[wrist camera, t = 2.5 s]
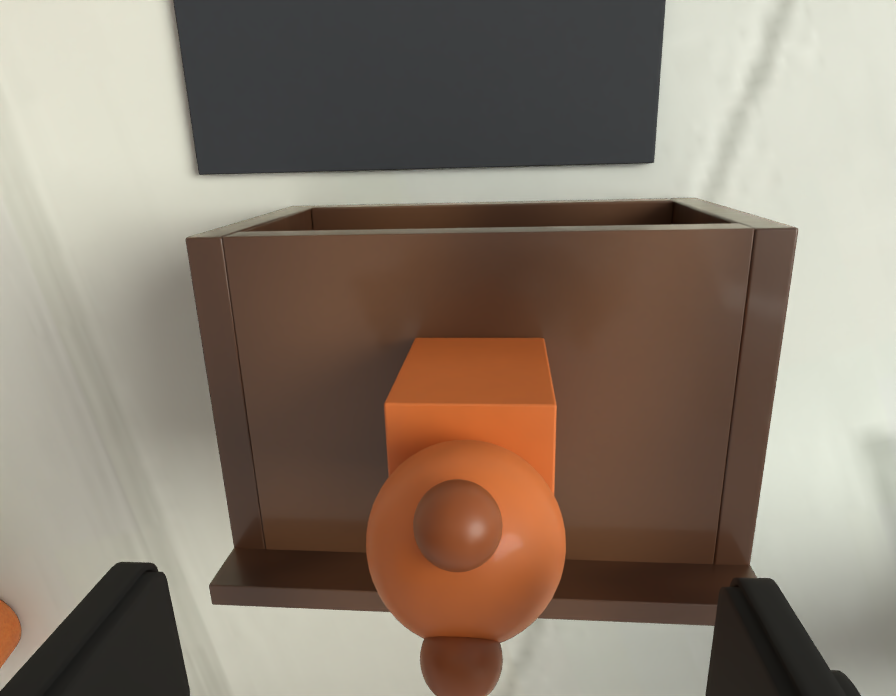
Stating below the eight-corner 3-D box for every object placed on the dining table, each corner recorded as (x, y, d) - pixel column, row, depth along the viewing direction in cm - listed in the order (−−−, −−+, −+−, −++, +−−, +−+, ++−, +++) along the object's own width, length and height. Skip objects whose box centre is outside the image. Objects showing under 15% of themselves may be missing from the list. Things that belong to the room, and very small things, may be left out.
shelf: (697, 197, 27) (835, 237, 16) (673, 448, 31) (771, 629, 19) (291, 205, 29) (148, 247, 17) (315, 442, 32) (211, 605, 21)
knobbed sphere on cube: (547, 337, 19) (583, 514, 10) (544, 471, 20) (573, 732, 11) (411, 337, 19) (327, 507, 10) (418, 468, 21) (348, 718, 12)
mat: (674, -147, 23) (676, -151, 23) (652, 162, 27) (654, 162, 26) (161, -110, 25) (156, -114, 25) (202, 174, 28) (198, 174, 28)
